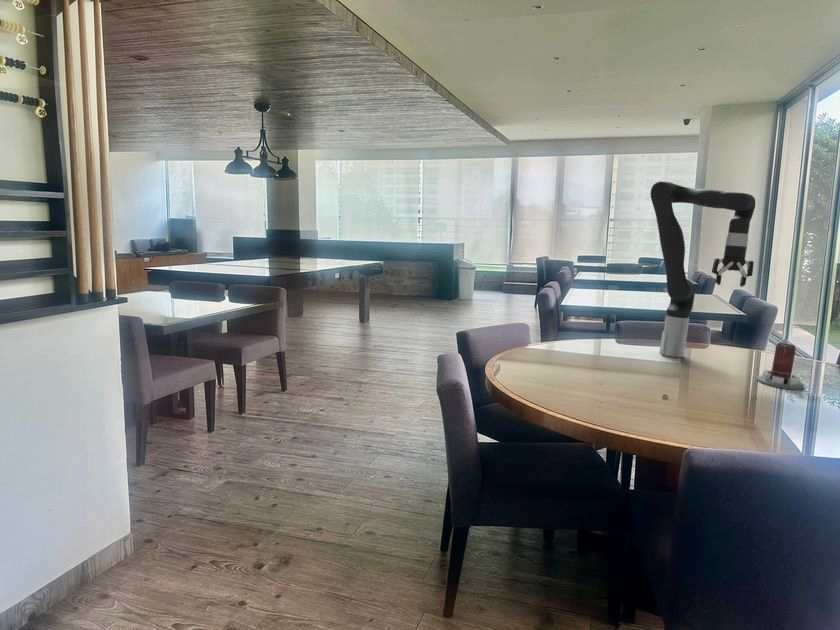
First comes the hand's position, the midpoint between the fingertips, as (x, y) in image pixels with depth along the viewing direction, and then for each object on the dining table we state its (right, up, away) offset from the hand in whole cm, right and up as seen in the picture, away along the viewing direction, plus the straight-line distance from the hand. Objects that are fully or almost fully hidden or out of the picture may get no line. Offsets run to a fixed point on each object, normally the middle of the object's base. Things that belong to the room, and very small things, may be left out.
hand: (729, 285), depth 230 cm
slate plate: (+10, -37, -17) cm, 42 cm away
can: (+9, -37, -18) cm, 41 cm away
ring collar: (+10, -37, -17) cm, 42 cm away
